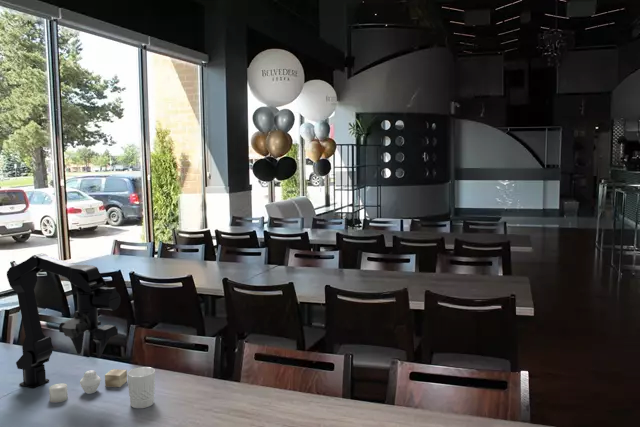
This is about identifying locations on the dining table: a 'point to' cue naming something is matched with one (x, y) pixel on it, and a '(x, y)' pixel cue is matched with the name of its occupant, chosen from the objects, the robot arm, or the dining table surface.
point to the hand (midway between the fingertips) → (89, 355)
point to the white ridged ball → (90, 382)
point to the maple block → (115, 378)
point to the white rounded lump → (58, 393)
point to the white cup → (141, 386)
